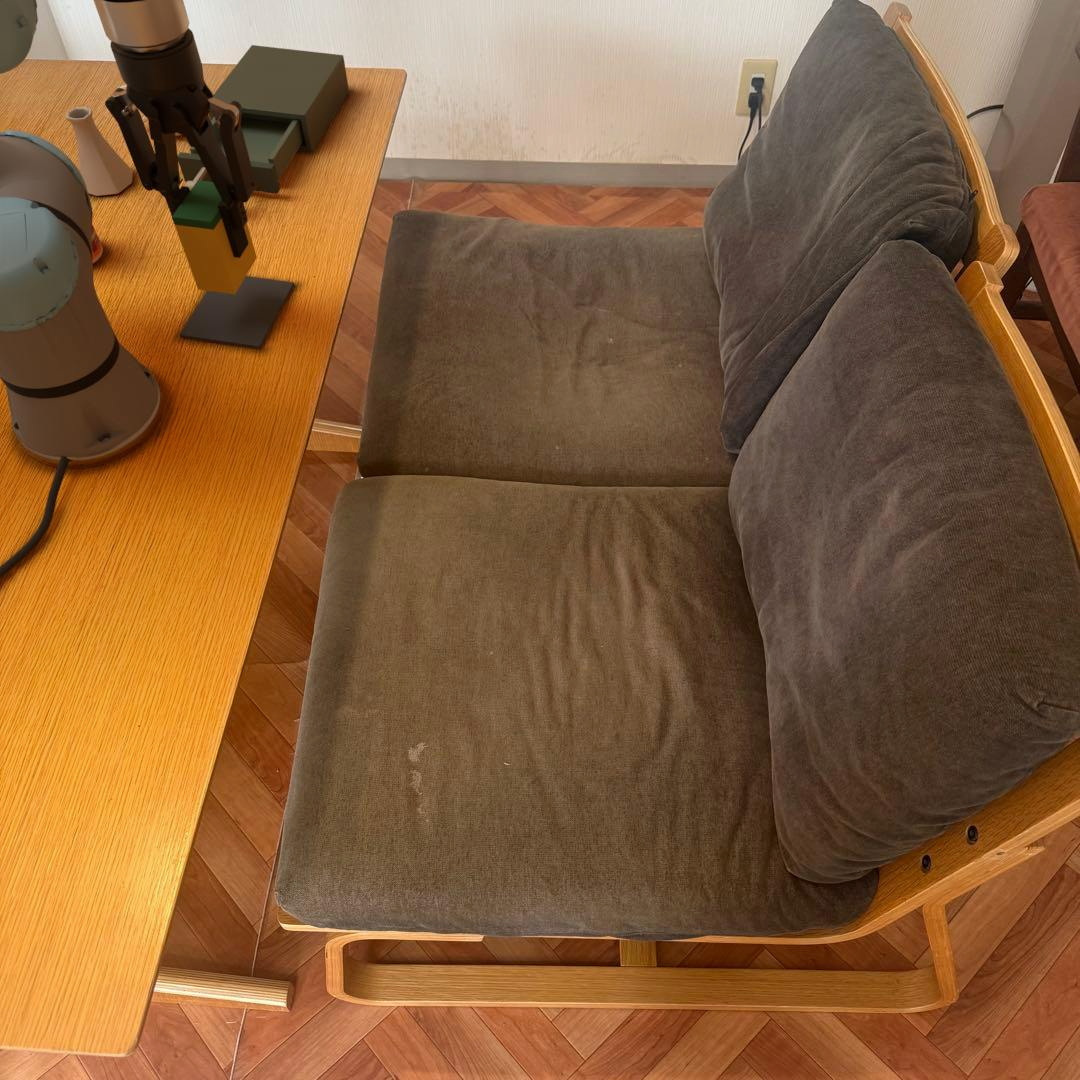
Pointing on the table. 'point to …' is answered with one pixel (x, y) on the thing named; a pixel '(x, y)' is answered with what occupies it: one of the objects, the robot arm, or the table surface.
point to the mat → (239, 313)
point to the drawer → (254, 150)
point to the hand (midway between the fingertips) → (219, 247)
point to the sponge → (210, 242)
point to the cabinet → (288, 87)
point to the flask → (97, 156)
